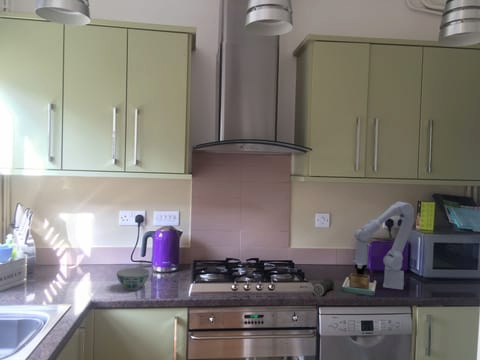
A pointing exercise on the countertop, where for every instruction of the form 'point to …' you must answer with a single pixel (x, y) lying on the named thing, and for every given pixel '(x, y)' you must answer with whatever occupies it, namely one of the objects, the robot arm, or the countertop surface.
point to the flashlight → (323, 286)
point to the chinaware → (132, 277)
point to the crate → (359, 281)
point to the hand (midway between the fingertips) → (360, 279)
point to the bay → (360, 291)
